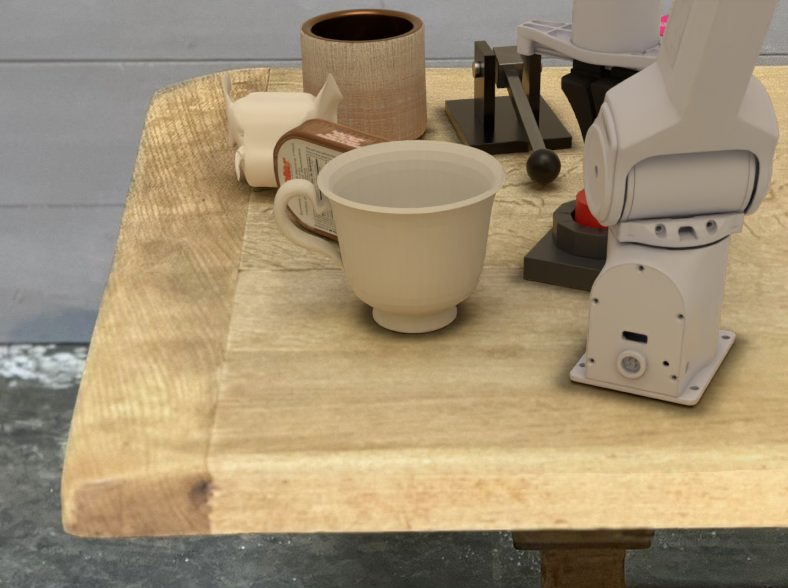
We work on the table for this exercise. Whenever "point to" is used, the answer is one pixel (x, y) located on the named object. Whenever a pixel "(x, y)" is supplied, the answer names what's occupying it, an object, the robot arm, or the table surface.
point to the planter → (370, 69)
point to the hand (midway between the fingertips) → (606, 174)
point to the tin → (315, 164)
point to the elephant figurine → (271, 124)
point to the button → (585, 212)
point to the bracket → (503, 109)
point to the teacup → (404, 225)
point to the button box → (568, 252)
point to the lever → (525, 116)
